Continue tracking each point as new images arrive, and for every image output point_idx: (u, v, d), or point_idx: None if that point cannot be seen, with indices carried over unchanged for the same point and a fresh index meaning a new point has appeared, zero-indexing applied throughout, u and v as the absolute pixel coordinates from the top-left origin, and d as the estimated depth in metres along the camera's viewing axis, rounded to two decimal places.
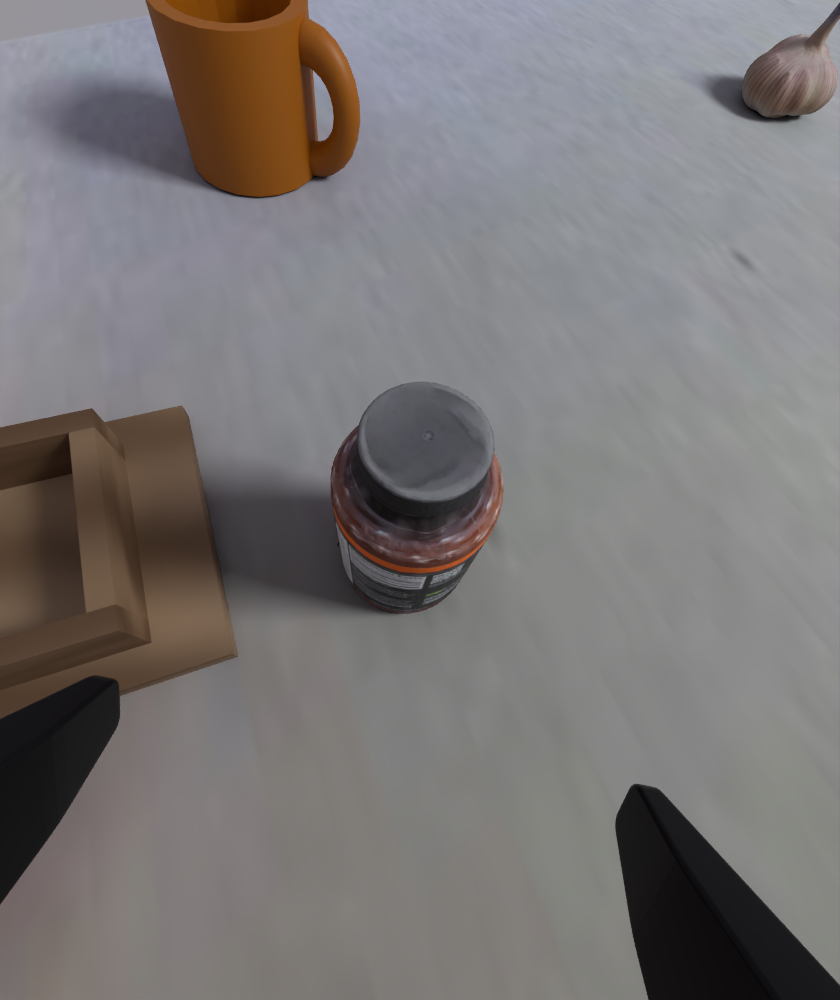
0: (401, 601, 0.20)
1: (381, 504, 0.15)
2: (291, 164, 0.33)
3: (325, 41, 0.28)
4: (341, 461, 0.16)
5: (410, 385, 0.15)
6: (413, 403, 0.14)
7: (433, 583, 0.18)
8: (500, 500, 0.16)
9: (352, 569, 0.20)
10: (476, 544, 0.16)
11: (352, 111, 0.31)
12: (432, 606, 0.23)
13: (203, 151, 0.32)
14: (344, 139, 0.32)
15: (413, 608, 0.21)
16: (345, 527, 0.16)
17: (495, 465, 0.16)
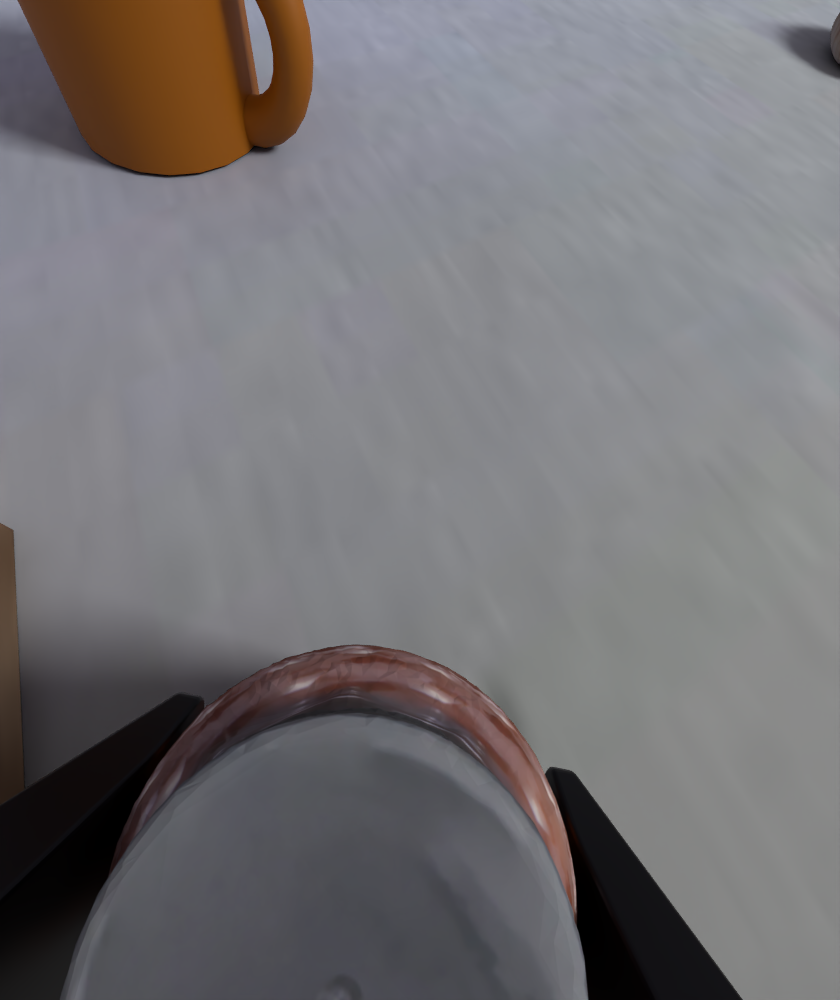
0: None
1: None
2: (215, 126, 0.22)
3: None
4: None
5: (290, 743, 0.04)
6: (292, 835, 0.04)
7: None
8: None
9: None
10: None
11: (298, 42, 0.20)
12: None
13: (80, 105, 0.21)
14: (290, 88, 0.21)
15: None
16: None
17: (557, 854, 0.06)
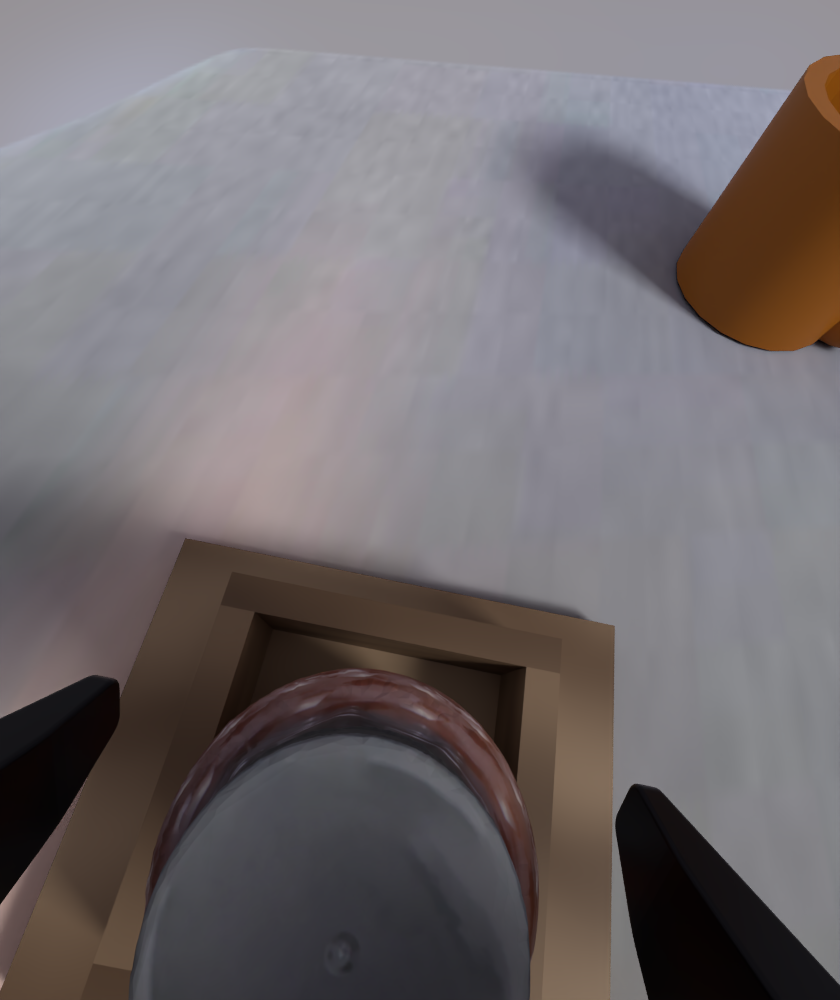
0: None
1: None
2: (819, 326, 0.24)
3: None
4: (165, 857, 0.07)
5: (304, 757, 0.05)
6: (305, 828, 0.05)
7: None
8: (534, 939, 0.07)
9: None
10: None
11: None
12: None
13: (719, 275, 0.25)
14: None
15: None
16: None
17: (522, 846, 0.07)
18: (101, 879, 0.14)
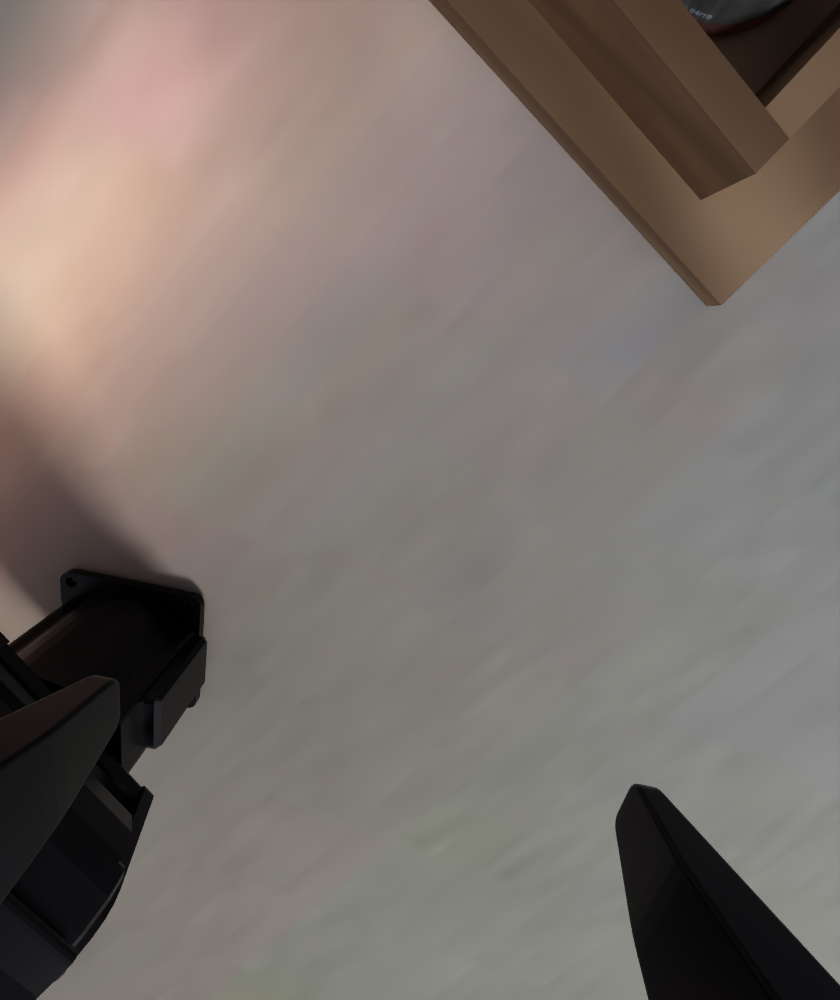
0: None
1: None
2: None
3: None
4: None
5: None
6: None
7: None
8: None
9: None
10: None
11: None
12: (712, 32, 0.14)
13: None
14: None
15: (694, 0, 0.13)
16: None
17: None
18: None
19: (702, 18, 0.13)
